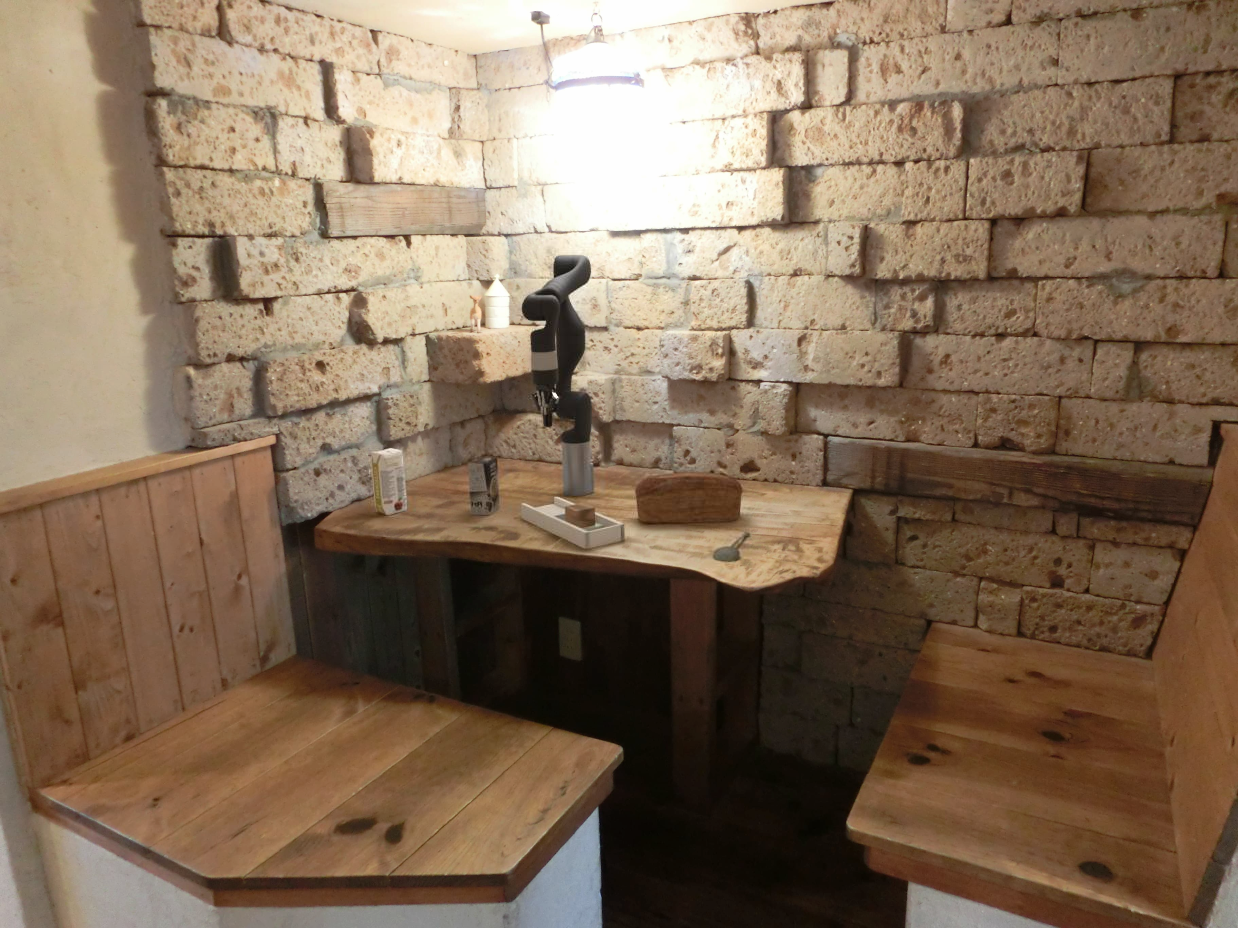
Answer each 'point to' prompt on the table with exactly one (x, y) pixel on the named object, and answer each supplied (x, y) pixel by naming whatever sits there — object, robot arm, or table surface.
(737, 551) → the soupspoon
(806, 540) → the table surface
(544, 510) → the track
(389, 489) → the juice carton
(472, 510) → the coffee box
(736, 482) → the bread
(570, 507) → the walnut block
